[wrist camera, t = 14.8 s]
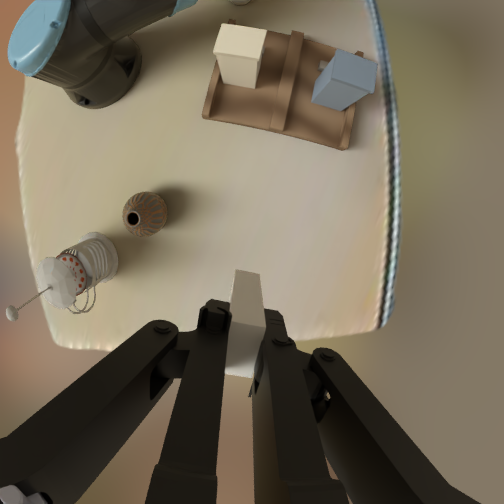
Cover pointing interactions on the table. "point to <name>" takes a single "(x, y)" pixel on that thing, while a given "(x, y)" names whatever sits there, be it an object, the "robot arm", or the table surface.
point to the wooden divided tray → (283, 93)
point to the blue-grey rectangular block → (344, 81)
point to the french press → (74, 272)
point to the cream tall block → (239, 54)
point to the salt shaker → (240, 2)
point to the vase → (145, 214)
